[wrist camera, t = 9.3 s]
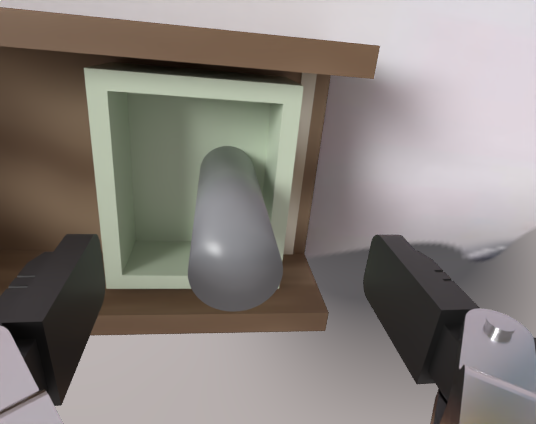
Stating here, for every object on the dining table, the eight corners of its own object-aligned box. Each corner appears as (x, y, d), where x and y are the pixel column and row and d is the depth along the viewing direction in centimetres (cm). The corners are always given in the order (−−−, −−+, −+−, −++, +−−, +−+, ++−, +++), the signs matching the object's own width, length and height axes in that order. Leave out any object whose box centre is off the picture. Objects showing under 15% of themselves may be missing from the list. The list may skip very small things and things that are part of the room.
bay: (-177, -7, 17) (-407, -35, 11) (329, 44, 21) (379, 45, 14) (-87, 257, 23) (-204, 341, 16) (299, 261, 26) (324, 330, 20)
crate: (111, 61, 19) (-3, 86, 9) (286, 76, 20) (353, 111, 10) (125, 245, 23) (58, 398, 13) (268, 247, 24) (304, 388, 14)
